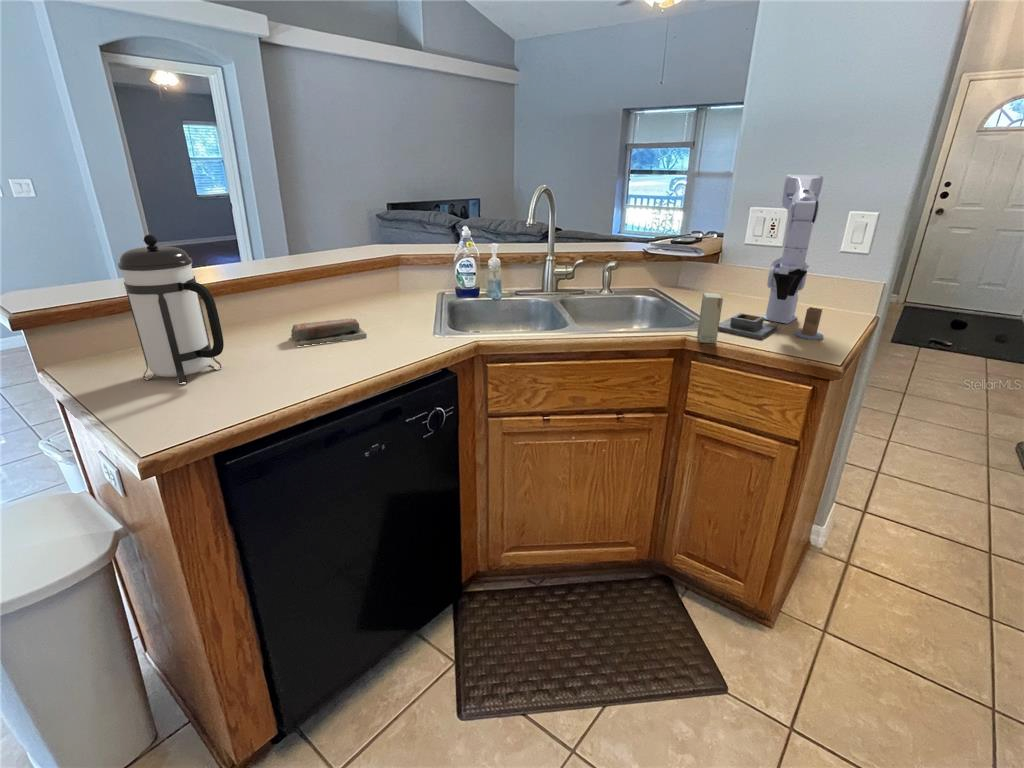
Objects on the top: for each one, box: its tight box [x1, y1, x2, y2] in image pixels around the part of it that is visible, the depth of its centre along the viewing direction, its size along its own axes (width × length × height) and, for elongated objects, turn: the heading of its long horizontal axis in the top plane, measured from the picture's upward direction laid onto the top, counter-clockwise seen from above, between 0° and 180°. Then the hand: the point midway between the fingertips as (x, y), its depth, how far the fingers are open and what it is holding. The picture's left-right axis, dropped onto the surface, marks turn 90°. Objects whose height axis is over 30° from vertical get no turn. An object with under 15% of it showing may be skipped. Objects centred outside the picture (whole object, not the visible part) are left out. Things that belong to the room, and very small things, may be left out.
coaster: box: [794, 329, 824, 341], centre depth 146 cm, size 7×7×1 cm
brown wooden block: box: [802, 307, 823, 336], centre depth 144 cm, size 3×3×7 cm
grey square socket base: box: [718, 312, 779, 341], centre depth 151 cm, size 13×13×4 cm
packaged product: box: [290, 318, 368, 347], centre depth 141 cm, size 18×5×10 cm
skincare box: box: [696, 292, 724, 344], centre depth 140 cm, size 6×4×12 cm
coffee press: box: [117, 234, 225, 384], centre depth 111 cm, size 17×16×30 cm
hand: (785, 297), depth 148 cm, fingers open, 7 cm apart
